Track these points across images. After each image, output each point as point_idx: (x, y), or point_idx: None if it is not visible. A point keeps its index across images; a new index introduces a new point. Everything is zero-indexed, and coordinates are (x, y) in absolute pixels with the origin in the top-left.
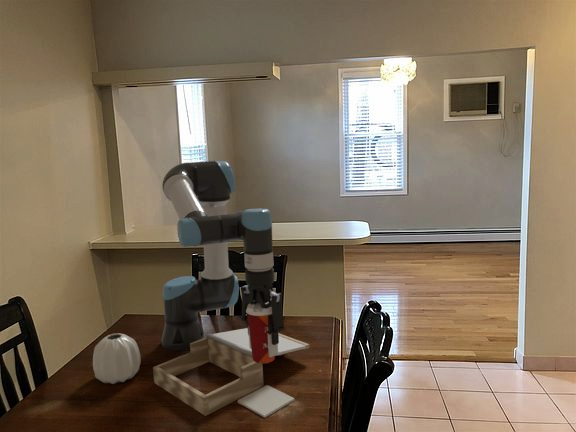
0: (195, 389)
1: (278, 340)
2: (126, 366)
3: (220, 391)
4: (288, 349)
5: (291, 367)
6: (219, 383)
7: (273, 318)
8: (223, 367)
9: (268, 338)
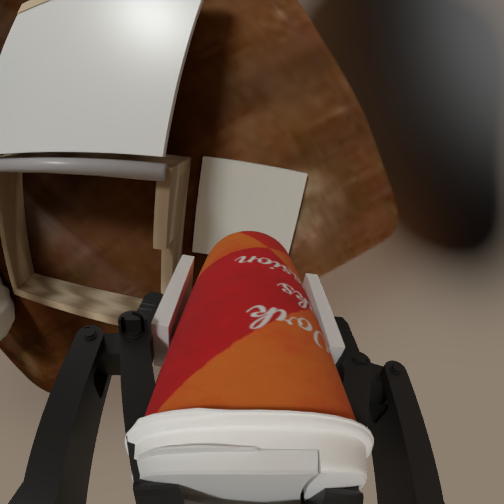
0: None
1: (349, 329)
2: (2, 317)
3: None
4: (186, 32)
5: (196, 38)
6: (99, 211)
7: (376, 452)
8: None
9: None
